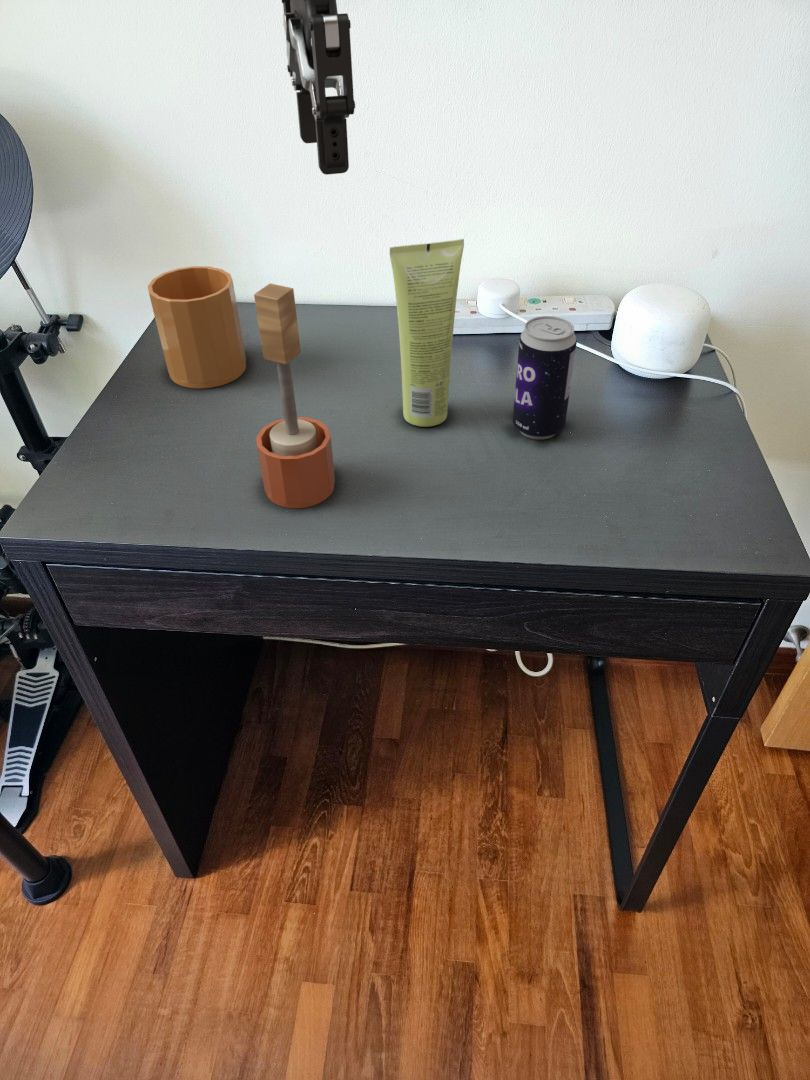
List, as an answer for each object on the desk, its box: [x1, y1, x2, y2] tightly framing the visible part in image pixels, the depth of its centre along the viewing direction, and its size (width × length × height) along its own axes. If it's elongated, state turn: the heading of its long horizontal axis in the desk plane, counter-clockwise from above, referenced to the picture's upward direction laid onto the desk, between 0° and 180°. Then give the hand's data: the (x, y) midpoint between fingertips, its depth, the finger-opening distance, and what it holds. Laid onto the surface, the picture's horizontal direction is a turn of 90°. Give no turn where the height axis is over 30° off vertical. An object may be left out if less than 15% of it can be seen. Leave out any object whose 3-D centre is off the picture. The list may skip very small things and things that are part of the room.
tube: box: [389, 238, 465, 428], centre depth 82 cm, size 6×5×20 cm
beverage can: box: [512, 315, 578, 440], centre depth 82 cm, size 6×6×12 cm
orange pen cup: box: [147, 265, 247, 390], centre depth 94 cm, size 9×9×11 cm
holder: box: [255, 416, 336, 509], centre depth 77 cm, size 7×7×6 cm
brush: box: [253, 283, 318, 456], centre depth 72 cm, size 4×4×20 cm
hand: (323, 156), depth 63 cm, fingers open, 8 cm apart
